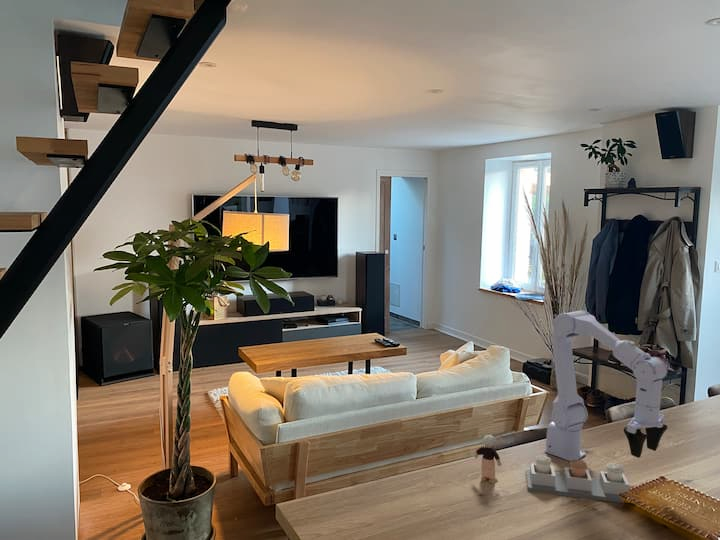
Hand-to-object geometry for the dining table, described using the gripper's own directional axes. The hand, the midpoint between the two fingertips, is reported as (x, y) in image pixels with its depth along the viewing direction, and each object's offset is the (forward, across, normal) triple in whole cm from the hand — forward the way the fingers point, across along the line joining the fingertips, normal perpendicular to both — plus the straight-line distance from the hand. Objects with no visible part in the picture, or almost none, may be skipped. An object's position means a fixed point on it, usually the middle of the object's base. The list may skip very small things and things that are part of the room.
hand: (643, 452), depth 144 cm
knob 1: (+7, -21, +16) cm, 27 cm away
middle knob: (+7, -14, +9) cm, 18 cm away
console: (+10, -14, +9) cm, 20 cm away
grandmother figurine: (+10, -32, +25) cm, 42 cm away
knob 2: (+7, -8, +3) cm, 11 cm away
